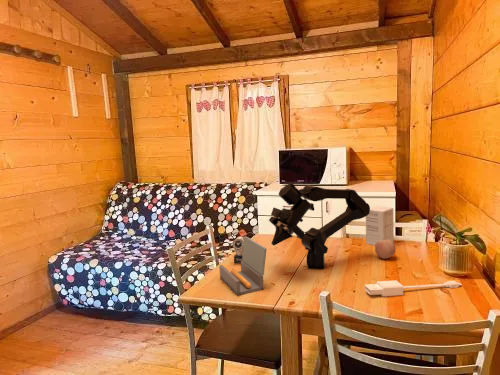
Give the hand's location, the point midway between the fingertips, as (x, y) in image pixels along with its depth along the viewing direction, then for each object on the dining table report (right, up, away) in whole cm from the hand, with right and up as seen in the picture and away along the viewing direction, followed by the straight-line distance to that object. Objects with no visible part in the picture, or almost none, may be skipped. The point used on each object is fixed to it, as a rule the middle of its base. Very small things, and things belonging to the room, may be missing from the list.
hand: (272, 244), depth 136 cm
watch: (-12, -11, +19) cm, 25 cm away
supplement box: (+53, -5, +34) cm, 63 cm away
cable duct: (-12, -14, -4) cm, 19 cm away
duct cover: (-8, -3, -3) cm, 9 cm away
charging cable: (+45, -13, -17) cm, 50 cm away
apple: (+48, -8, +14) cm, 50 cm away
